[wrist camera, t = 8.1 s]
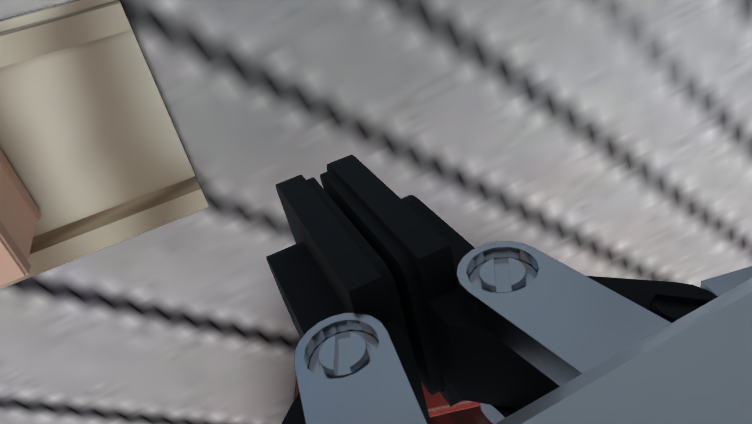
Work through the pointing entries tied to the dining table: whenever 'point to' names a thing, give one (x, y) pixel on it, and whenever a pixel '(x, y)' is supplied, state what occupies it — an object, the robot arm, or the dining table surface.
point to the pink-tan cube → (15, 224)
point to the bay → (88, 132)
